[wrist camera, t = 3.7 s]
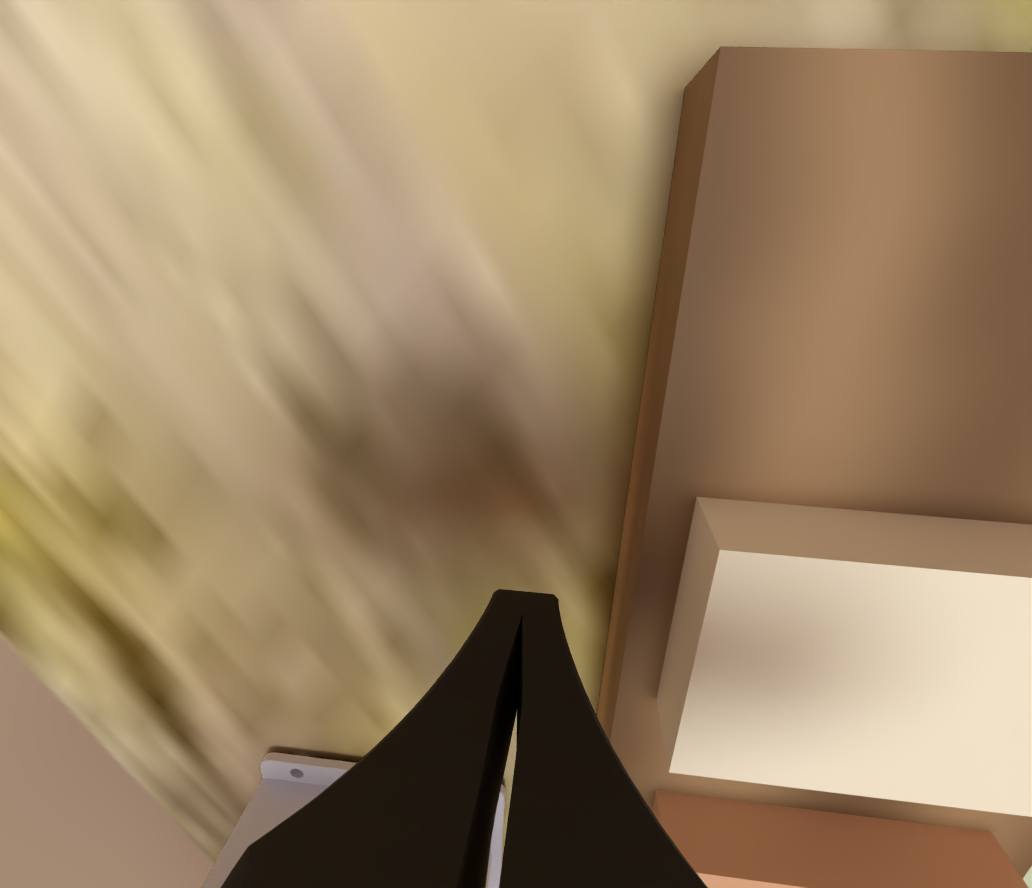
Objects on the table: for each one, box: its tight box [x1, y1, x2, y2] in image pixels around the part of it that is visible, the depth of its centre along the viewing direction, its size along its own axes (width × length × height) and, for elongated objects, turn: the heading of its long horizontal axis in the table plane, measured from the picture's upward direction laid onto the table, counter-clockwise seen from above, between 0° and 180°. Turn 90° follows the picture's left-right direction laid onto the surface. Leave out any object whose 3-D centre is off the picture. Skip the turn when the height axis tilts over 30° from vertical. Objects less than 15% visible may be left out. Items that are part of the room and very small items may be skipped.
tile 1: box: [656, 497, 1032, 817], centre depth 11 cm, size 9×6×2 cm, turn 88°
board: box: [597, 47, 1032, 879], centre depth 14 cm, size 12×24×3 cm, turn 178°
